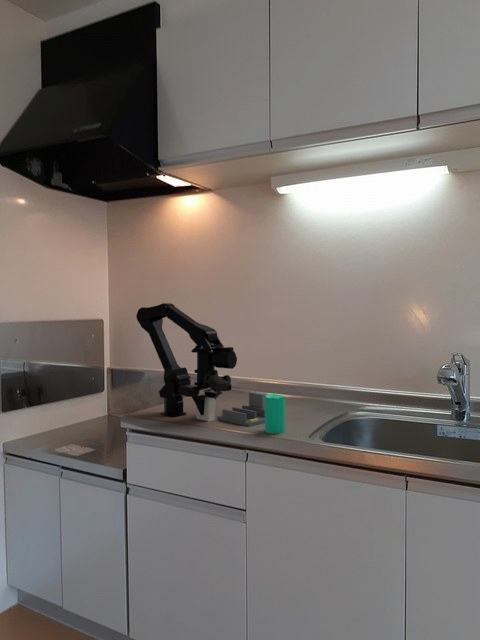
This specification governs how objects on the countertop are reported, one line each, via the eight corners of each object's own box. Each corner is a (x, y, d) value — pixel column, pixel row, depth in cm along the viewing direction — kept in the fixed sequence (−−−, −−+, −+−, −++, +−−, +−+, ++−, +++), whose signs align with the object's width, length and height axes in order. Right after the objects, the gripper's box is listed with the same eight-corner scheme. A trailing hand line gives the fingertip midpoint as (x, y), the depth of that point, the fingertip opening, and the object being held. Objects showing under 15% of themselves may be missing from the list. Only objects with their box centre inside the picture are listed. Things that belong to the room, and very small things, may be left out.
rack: (217, 419, 162) (217, 394, 162) (248, 412, 173) (249, 389, 172) (249, 426, 152) (249, 400, 152) (280, 418, 163) (280, 394, 163)
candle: (262, 429, 149) (262, 389, 149) (281, 428, 151) (281, 388, 150) (267, 434, 143) (268, 392, 143) (287, 432, 145) (288, 391, 144)
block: (196, 418, 163) (196, 397, 163) (202, 417, 165) (202, 396, 165) (208, 421, 159) (208, 399, 159) (215, 419, 161) (215, 398, 161)
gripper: (200, 371, 149) (200, 423, 150) (243, 366, 163) (243, 413, 163) (177, 368, 157) (177, 417, 158) (219, 363, 171) (219, 409, 171)
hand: (205, 414), depth 162 cm, fingers closed on block, 3 cm apart
